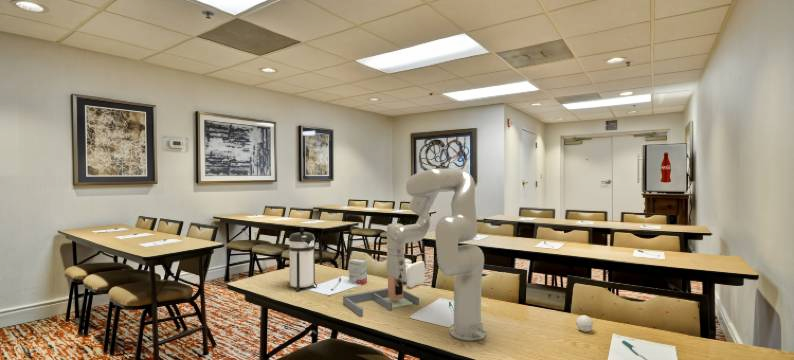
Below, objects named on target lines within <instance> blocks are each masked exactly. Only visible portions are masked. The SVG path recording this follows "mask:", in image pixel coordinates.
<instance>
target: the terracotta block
mask: <svg viewBox="0 0 794 360" xmlns="http://www.w3.org/2000/svg"><path fill="white" fill-rule="evenodd" d="M398 278H400V277H398ZM399 281H400V280H398V282H399ZM395 286H396V279H395V278H394V277H392V276H390V275H387V288H388V297H387V298H390V299H392V300H399V299H403V290H404V284H403V285H402V294H400V295H396V294H395Z"/></svg>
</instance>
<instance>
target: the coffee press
mask: <svg viewBox="0 0 794 360" xmlns="http://www.w3.org/2000/svg"><path fill="white" fill-rule="evenodd" d="M315 240H316V236H314V234H313V233H311V232H308V231H305V229H304V227H300V228H299V232H294V233H291V234H290V235H289V238H288V243H289V245H288V251H289V252H288V253H289V256H288V257H289V259H288V260H289V261H288V262H289V282H288V284H287V288H288V287H290V288H291V287H293V288H296V289H295V292H297V293H298V292H300V290H301V288H308V287H312V288H314V287H316V288H317V287H318V284H317V283H316V275H315V274H316V272H315V271H316V269H315V267H316V266H315V265H316V264H315V262H316V261H315V259H316V258H315V257H316V254H315V253H316V252H315V249H316V246H315ZM289 285H290V286H289Z"/></svg>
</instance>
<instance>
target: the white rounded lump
mask: <svg viewBox="0 0 794 360" xmlns="http://www.w3.org/2000/svg"><path fill="white" fill-rule="evenodd" d="M575 324H576V326H577V328H578V330H580V331H581V332H590V331H592V329H593V328H594V321H593V320H592V318H591V317H590V316H588V315H585V314H583V315H582V314H581V315H579V316H578V317H577V318H576V321H575Z"/></svg>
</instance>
